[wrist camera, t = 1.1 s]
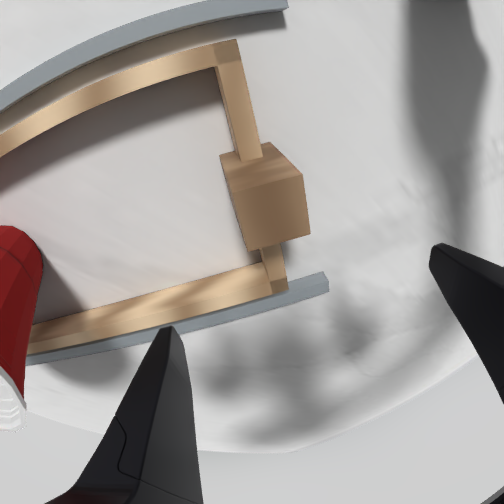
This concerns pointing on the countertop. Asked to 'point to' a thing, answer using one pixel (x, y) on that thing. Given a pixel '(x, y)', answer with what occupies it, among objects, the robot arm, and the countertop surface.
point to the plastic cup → (16, 320)
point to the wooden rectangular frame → (239, 185)
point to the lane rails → (214, 9)
